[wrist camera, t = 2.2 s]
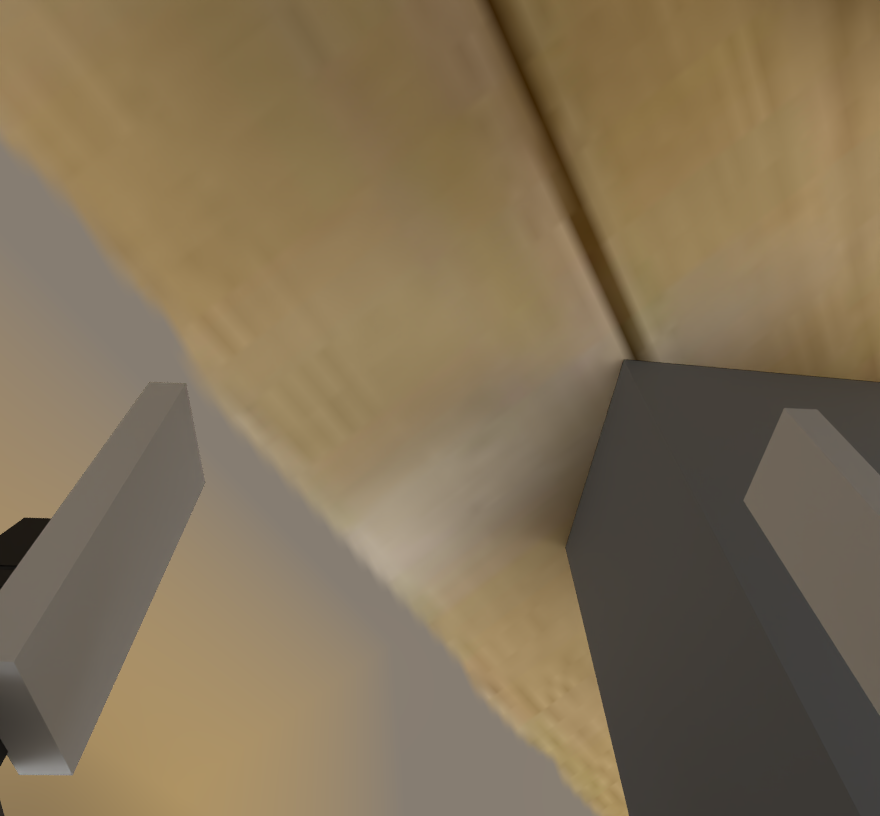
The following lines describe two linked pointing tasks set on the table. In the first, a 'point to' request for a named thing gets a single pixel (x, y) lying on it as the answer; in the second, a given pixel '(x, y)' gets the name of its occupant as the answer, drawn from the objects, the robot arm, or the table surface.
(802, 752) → the cabinet
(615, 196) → the table surface
